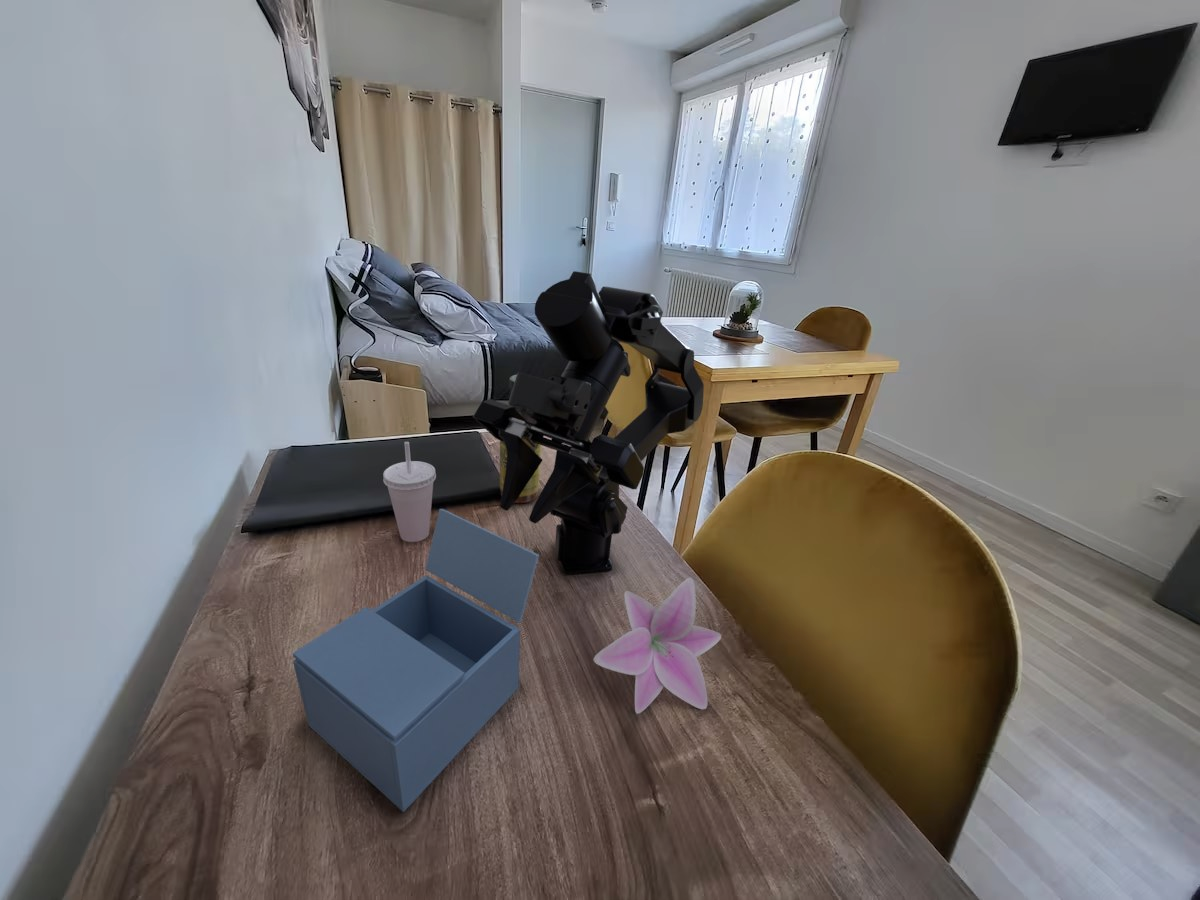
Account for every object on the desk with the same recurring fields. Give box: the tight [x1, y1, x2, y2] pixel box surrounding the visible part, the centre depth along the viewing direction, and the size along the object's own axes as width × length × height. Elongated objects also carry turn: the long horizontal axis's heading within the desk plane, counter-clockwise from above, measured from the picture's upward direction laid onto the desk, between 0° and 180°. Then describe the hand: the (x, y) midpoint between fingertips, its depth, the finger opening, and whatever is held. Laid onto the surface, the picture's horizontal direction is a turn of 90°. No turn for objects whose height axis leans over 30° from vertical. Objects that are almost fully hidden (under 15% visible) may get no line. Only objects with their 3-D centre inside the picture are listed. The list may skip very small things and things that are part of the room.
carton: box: [292, 574, 521, 813], centre depth 42 cm, size 13×12×8 cm
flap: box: [425, 508, 540, 624], centre depth 45 cm, size 6×12×1 cm
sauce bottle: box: [499, 374, 542, 504], centre depth 74 cm, size 7×6×20 cm
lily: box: [593, 577, 722, 715], centre depth 47 cm, size 12×12×10 cm
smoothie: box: [382, 441, 437, 543], centre depth 63 cm, size 6×6×14 cm
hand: (517, 515), depth 48 cm, fingers open, 3 cm apart
